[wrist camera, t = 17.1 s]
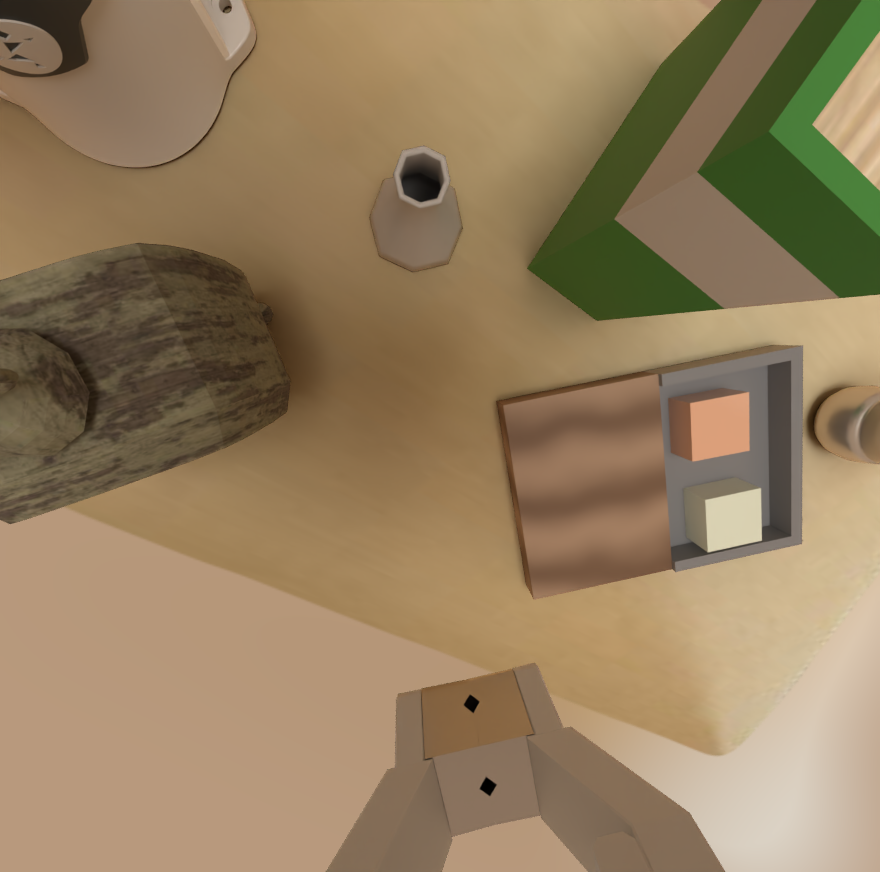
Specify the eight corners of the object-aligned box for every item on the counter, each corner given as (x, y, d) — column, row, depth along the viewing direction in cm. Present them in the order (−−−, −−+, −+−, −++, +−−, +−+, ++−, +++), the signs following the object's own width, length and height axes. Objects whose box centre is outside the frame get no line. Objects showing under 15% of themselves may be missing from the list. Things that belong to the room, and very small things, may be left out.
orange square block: (668, 398, 38) (690, 403, 35) (722, 388, 38) (749, 392, 35) (670, 452, 39) (692, 461, 36) (723, 442, 39) (749, 450, 36)
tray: (641, 371, 38) (661, 374, 35) (772, 345, 38) (802, 345, 35) (656, 555, 42) (675, 571, 39) (774, 529, 43) (801, 544, 40)
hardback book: (661, 63, 33) (1293, -610, 10) (730, 128, 34) (1431, -323, 11) (527, 268, 35) (768, 131, 12) (596, 320, 37) (935, 289, 13)
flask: (372, 166, 33) (359, 93, 23) (466, 178, 34) (493, 112, 24) (367, 267, 34) (353, 239, 25) (458, 277, 35) (479, 253, 25)
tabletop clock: (278, 284, 34) (-34, 147, 10) (323, 392, 36) (159, 505, 12) (103, 345, 34) (-655, 364, 10) (158, 451, 36) (-349, 685, 12)
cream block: (683, 488, 40) (705, 500, 37) (734, 477, 40) (760, 488, 37) (686, 537, 41) (707, 552, 38) (736, 526, 41) (761, 540, 38)
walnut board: (496, 401, 37) (503, 405, 35) (641, 371, 38) (658, 373, 36) (526, 584, 42) (533, 599, 39) (656, 555, 42) (672, 568, 40)
